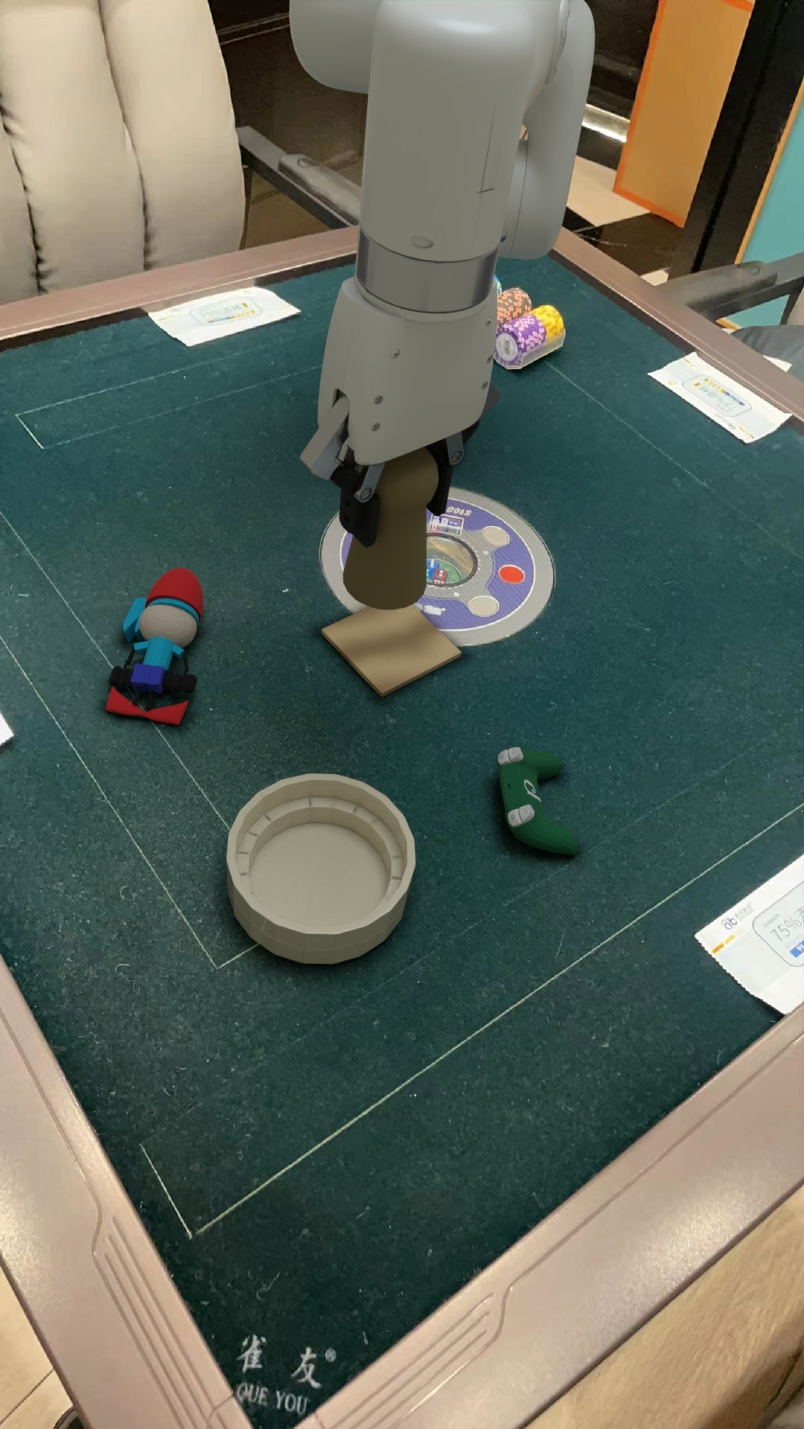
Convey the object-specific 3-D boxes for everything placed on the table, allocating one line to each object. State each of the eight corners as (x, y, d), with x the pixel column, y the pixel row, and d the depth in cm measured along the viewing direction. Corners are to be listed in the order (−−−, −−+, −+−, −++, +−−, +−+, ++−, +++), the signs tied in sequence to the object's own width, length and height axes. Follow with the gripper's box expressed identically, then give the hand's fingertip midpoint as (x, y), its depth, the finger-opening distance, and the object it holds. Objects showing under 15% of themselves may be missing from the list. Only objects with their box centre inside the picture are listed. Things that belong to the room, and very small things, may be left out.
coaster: (320, 633, 94) (321, 629, 94) (399, 596, 98) (400, 592, 98) (381, 698, 90) (382, 693, 89) (460, 656, 94) (461, 652, 94)
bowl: (194, 865, 78) (191, 827, 74) (338, 784, 84) (342, 746, 80) (295, 1002, 72) (297, 969, 68) (443, 905, 78) (453, 870, 74)
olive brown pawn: (430, 557, 77) (452, 432, 68) (422, 616, 73) (444, 491, 64) (348, 544, 77) (360, 418, 68) (336, 602, 73) (347, 476, 64)
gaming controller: (526, 776, 88) (484, 746, 85) (564, 757, 87) (523, 725, 83) (544, 871, 83) (501, 843, 79) (585, 852, 81) (543, 823, 77)
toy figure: (191, 736, 87) (228, 592, 94) (181, 706, 83) (220, 557, 90) (102, 726, 87) (146, 584, 95) (87, 695, 83) (134, 549, 91)
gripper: (499, 196, 62) (454, 448, 76) (252, 264, 54) (253, 530, 68) (586, 255, 58) (522, 507, 73) (337, 336, 51) (320, 601, 65)
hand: (392, 516), depth 70 cm, fingers closed on olive brown pawn, 5 cm apart
